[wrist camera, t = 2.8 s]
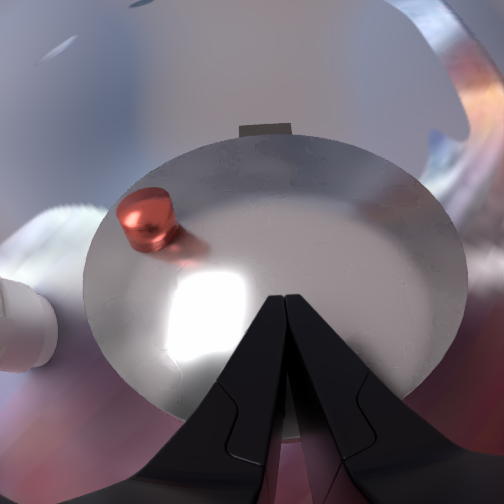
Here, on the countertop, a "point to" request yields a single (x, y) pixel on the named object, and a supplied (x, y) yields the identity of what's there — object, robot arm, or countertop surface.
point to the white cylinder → (25, 328)
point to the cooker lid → (272, 264)
